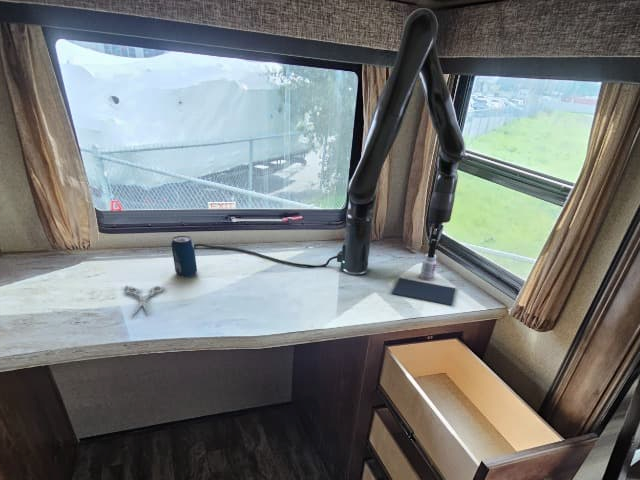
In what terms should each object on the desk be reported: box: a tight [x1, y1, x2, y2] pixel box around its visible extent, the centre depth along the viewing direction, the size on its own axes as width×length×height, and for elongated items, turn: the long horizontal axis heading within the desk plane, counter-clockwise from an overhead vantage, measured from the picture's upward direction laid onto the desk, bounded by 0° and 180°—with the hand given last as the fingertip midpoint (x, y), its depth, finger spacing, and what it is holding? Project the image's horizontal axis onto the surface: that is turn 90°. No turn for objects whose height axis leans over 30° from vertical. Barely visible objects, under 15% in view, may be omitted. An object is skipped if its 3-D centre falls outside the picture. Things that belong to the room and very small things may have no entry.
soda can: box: [170, 235, 198, 278], centre depth 142 cm, size 7×7×12 cm
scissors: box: [125, 285, 163, 316], centre depth 127 cm, size 11×1×20 cm
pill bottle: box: [419, 252, 438, 281], centre depth 156 cm, size 5×5×8 cm
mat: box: [391, 277, 456, 307], centre depth 148 cm, size 20×14×1 cm
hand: (432, 253), depth 153 cm, fingers open, 8 cm apart
